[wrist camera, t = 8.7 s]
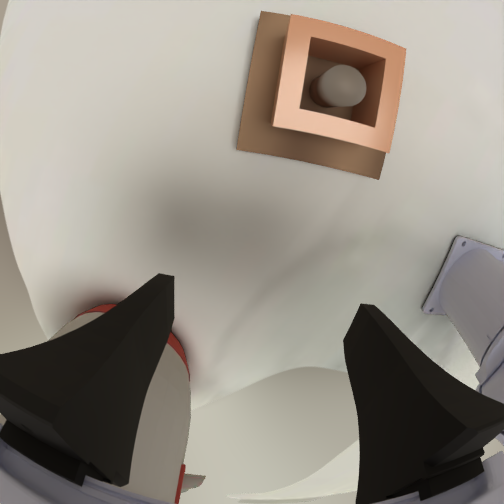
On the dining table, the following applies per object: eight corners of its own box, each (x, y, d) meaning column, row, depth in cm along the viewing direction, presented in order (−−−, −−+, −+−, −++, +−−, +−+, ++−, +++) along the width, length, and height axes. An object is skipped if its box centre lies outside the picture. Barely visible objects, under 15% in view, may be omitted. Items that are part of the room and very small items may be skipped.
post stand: (394, 54, 13) (437, 41, 8) (370, 174, 17) (406, 199, 12) (261, 18, 13) (260, -17, 8) (238, 146, 17) (228, 160, 12)
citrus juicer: (195, 407, 31) (171, 549, 13) (71, 352, 28) (8, 479, 10) (249, 335, 24) (232, 569, 7) (73, 255, 21) (-61, 433, 4)
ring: (376, 60, 12) (406, 48, 9) (362, 143, 15) (389, 153, 11) (284, 36, 12) (291, 14, 9) (270, 123, 15) (272, 126, 11)
